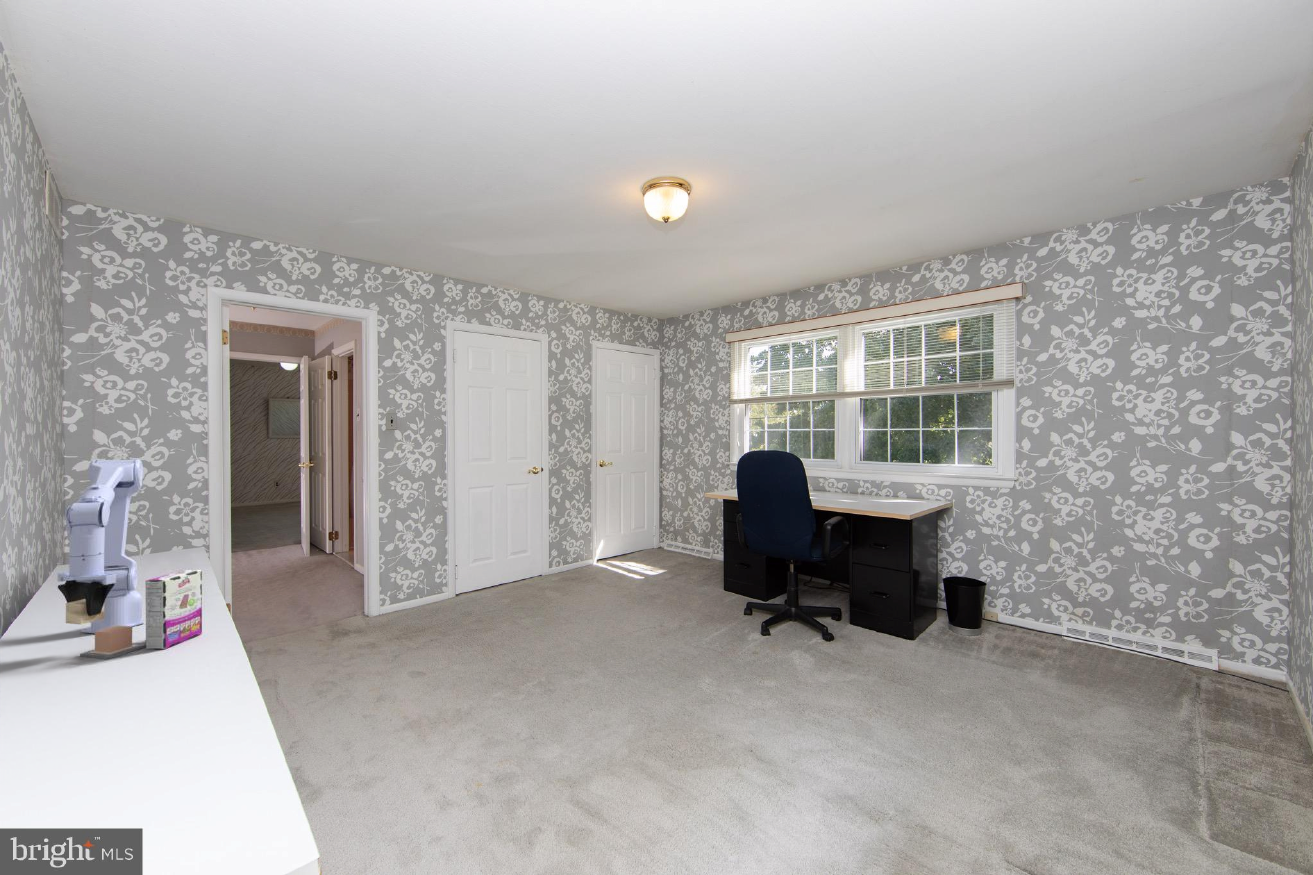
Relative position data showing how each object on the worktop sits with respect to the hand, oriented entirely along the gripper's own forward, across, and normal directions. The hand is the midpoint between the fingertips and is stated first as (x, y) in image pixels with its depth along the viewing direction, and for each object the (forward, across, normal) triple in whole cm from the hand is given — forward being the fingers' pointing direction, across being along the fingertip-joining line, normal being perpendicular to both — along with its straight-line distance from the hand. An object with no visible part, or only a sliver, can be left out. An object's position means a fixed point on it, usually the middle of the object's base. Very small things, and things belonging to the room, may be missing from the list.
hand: (85, 613), depth 131 cm
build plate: (+9, +5, +2) cm, 11 cm away
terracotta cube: (+8, +5, +2) cm, 10 cm away
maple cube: (+2, 0, 0) cm, 2 cm away
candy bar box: (+9, +12, +11) cm, 18 cm away
